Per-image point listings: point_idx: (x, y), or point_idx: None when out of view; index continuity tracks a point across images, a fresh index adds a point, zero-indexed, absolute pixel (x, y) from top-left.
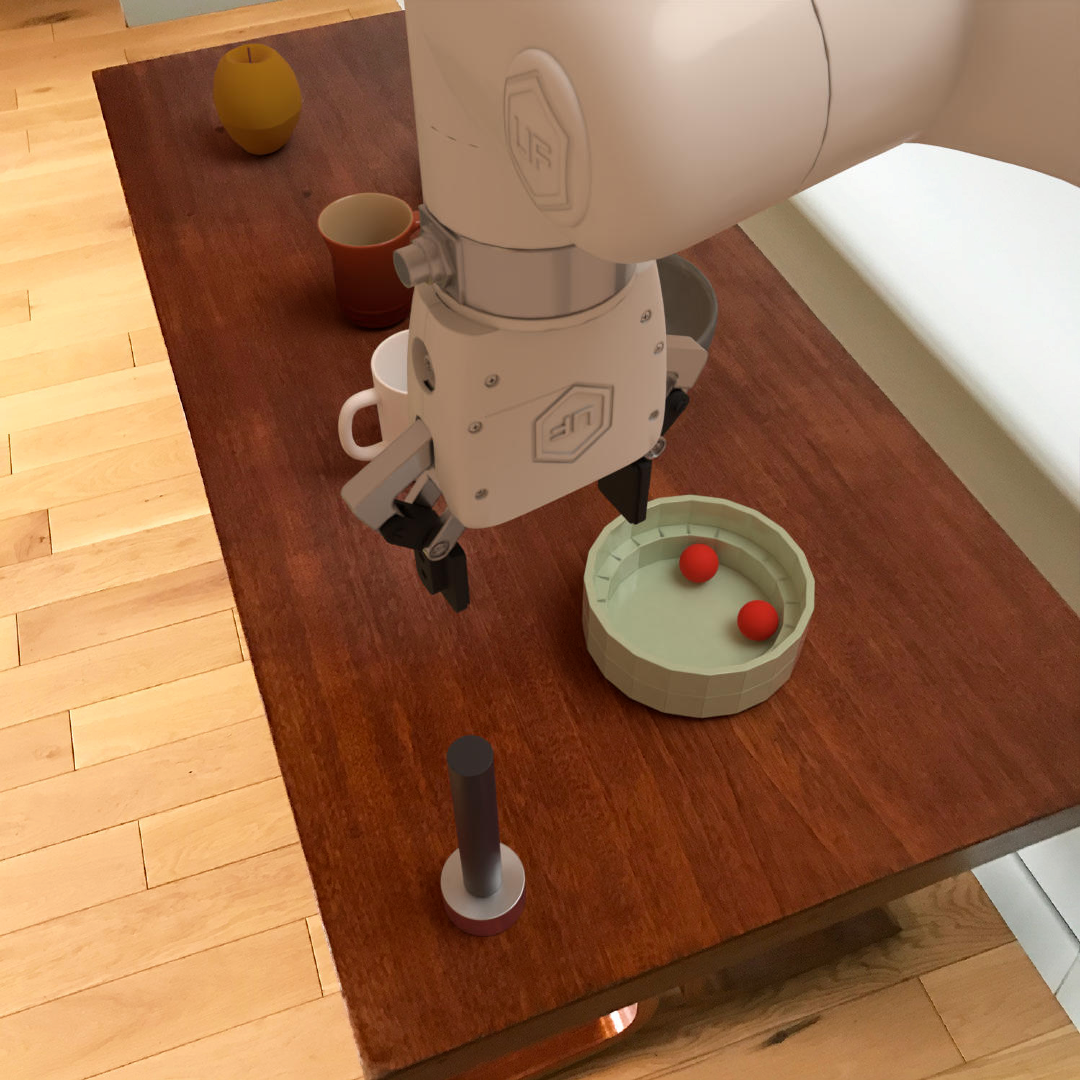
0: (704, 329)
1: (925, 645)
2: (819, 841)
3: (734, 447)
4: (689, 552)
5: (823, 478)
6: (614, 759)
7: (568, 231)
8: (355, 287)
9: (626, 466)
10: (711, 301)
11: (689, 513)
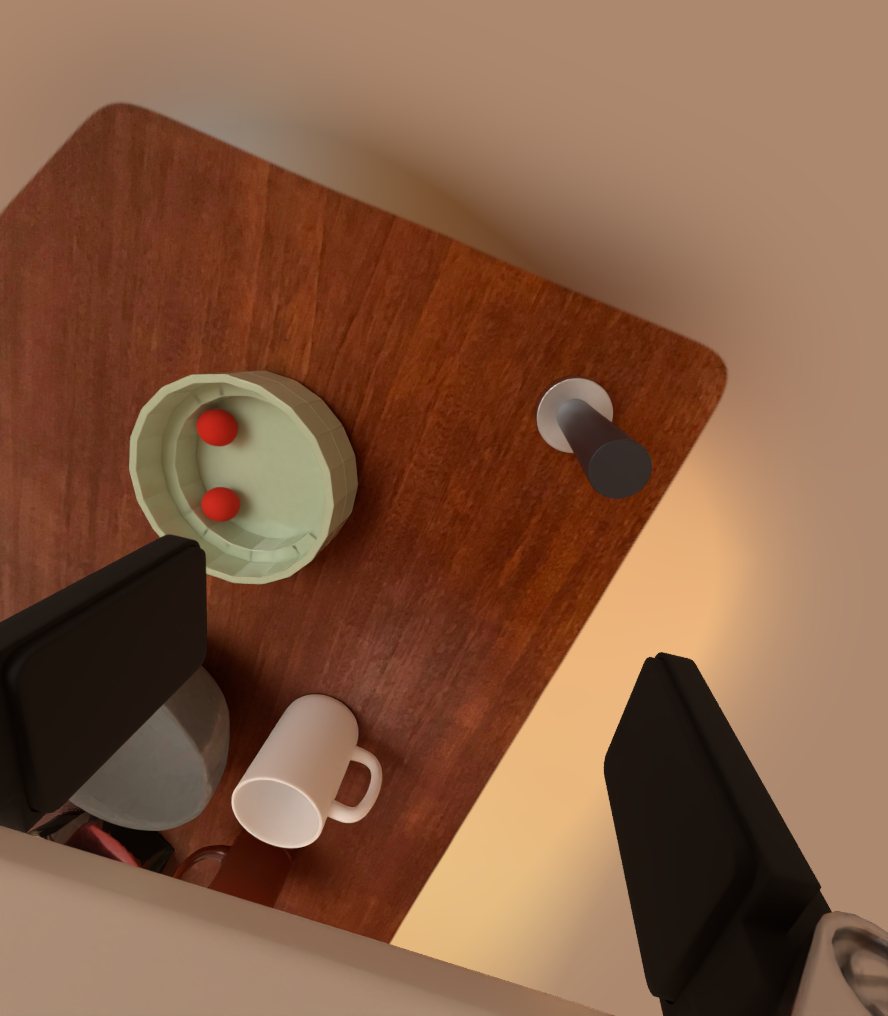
0: None
1: (116, 308)
2: (323, 239)
3: None
4: (219, 516)
5: (80, 490)
6: (403, 425)
7: None
8: (273, 876)
9: (50, 691)
10: None
11: None
